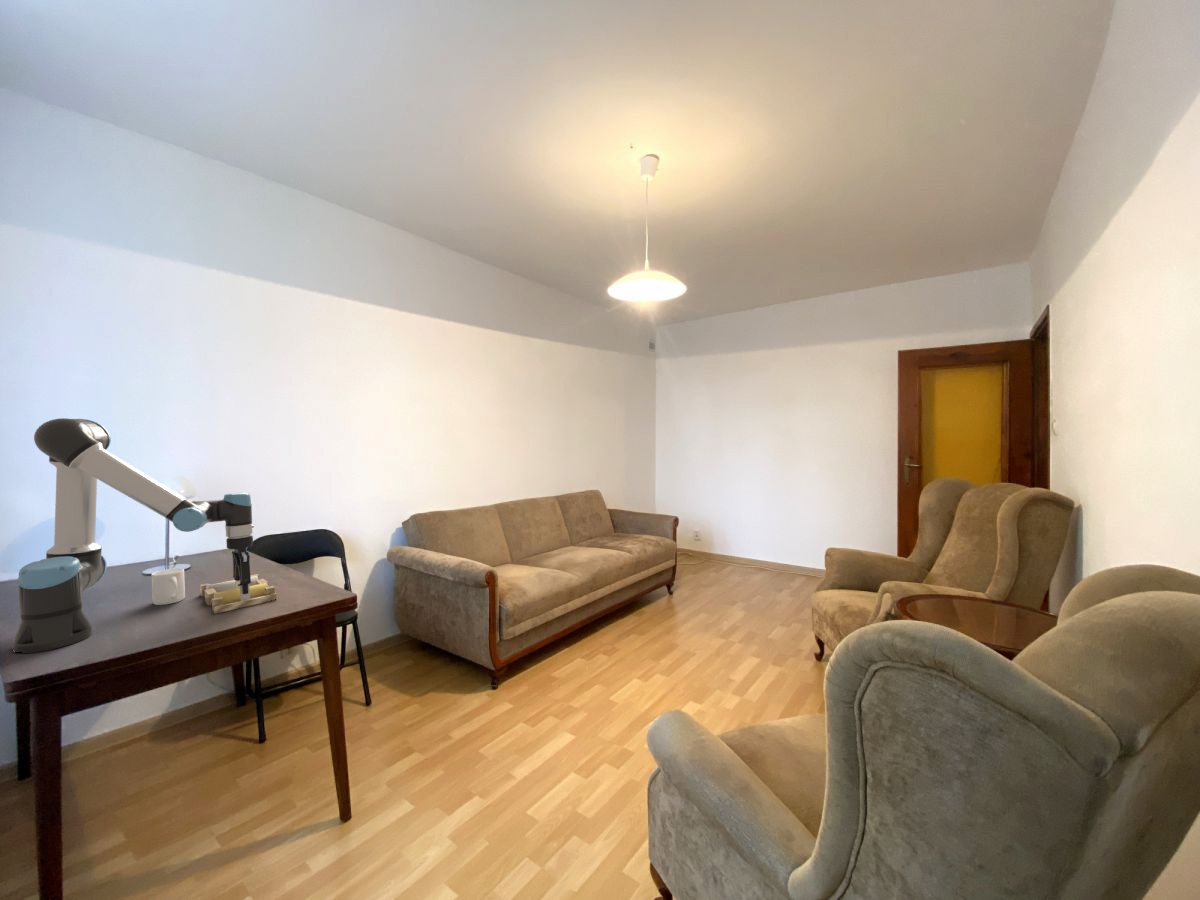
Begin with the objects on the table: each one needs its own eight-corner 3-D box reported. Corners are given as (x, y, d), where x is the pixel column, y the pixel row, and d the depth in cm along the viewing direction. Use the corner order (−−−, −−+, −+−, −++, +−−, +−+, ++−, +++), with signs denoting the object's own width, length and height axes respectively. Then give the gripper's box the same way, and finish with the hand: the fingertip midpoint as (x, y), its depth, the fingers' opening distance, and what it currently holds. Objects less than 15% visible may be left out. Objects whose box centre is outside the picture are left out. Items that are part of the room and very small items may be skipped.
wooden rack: (214, 613, 158) (214, 601, 157) (200, 594, 176) (199, 584, 175) (276, 599, 171) (276, 588, 170) (257, 583, 189) (256, 573, 188)
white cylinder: (208, 601, 171) (208, 588, 170) (206, 595, 174) (206, 583, 173) (259, 590, 182) (259, 578, 181) (255, 585, 185) (255, 573, 184)
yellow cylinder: (217, 607, 161) (215, 592, 162) (214, 608, 164) (213, 594, 165) (269, 595, 172) (267, 582, 173) (266, 597, 176) (264, 583, 176)
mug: (160, 609, 162) (159, 578, 161) (149, 602, 168) (147, 572, 168) (192, 601, 169) (191, 571, 168) (180, 595, 175) (179, 566, 175)
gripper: (259, 537, 165) (262, 603, 165) (246, 531, 177) (249, 591, 178) (232, 542, 159) (236, 609, 160) (220, 534, 172) (224, 597, 173)
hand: (243, 600), depth 169 cm, fingers open, 6 cm apart
